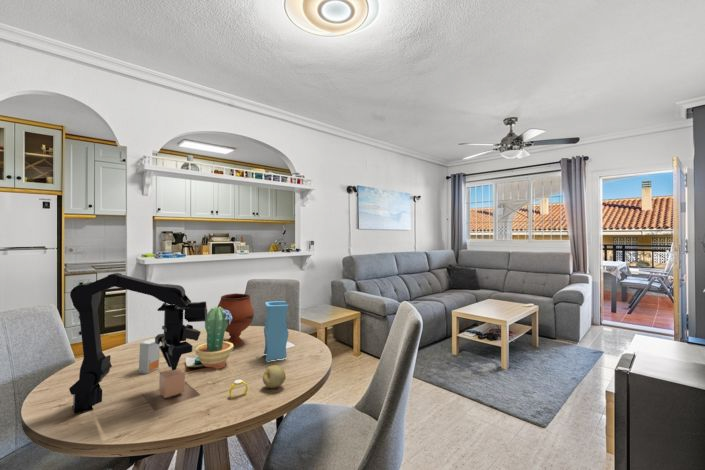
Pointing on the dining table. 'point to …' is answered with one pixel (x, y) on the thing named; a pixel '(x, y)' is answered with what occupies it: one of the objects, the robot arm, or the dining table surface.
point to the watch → (237, 384)
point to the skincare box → (149, 356)
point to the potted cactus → (215, 339)
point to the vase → (276, 330)
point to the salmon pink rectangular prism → (171, 382)
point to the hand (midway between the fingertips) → (172, 368)
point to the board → (160, 402)
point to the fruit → (274, 376)
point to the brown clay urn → (237, 315)
